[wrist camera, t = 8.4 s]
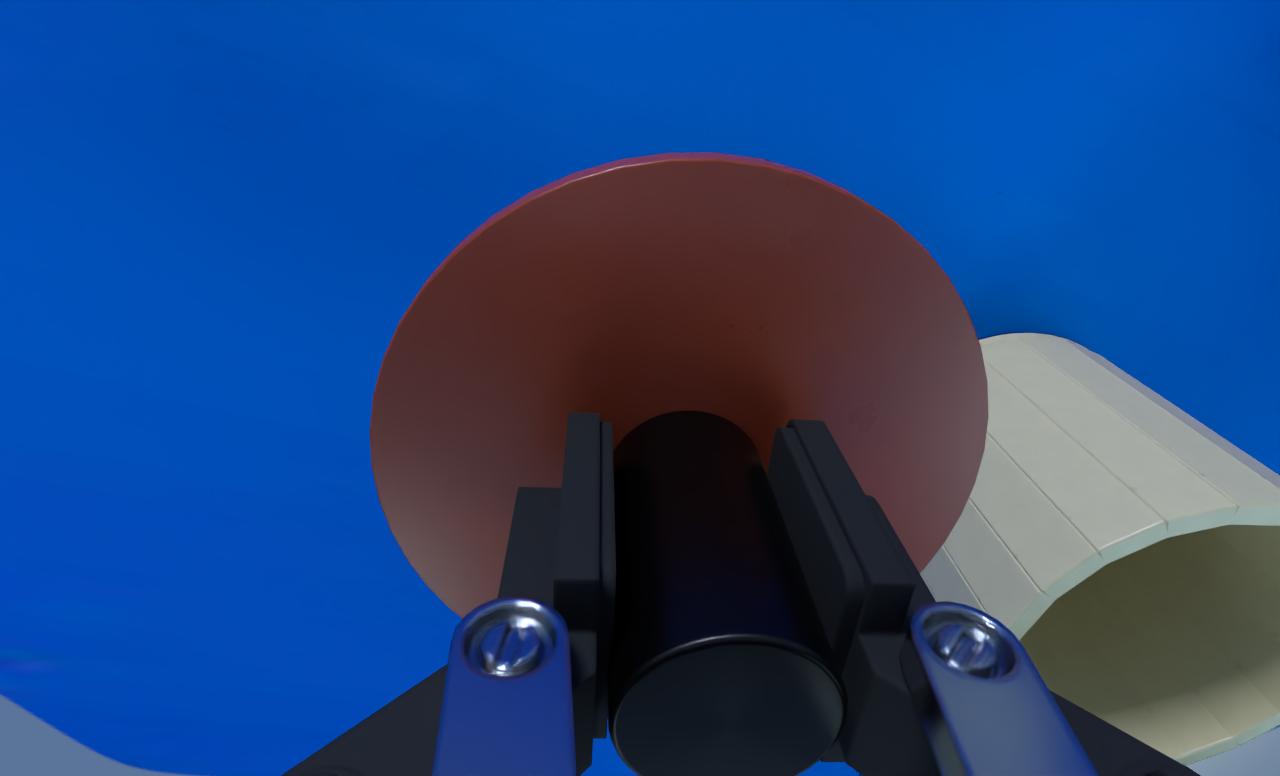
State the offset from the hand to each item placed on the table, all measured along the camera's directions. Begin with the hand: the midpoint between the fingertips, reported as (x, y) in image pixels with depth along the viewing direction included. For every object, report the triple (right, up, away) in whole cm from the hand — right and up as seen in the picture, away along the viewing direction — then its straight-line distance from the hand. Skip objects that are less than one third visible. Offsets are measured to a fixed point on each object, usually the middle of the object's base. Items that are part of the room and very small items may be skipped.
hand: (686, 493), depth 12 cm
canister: (+13, -1, +15) cm, 20 cm away
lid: (0, 0, +1) cm, 1 cm away
